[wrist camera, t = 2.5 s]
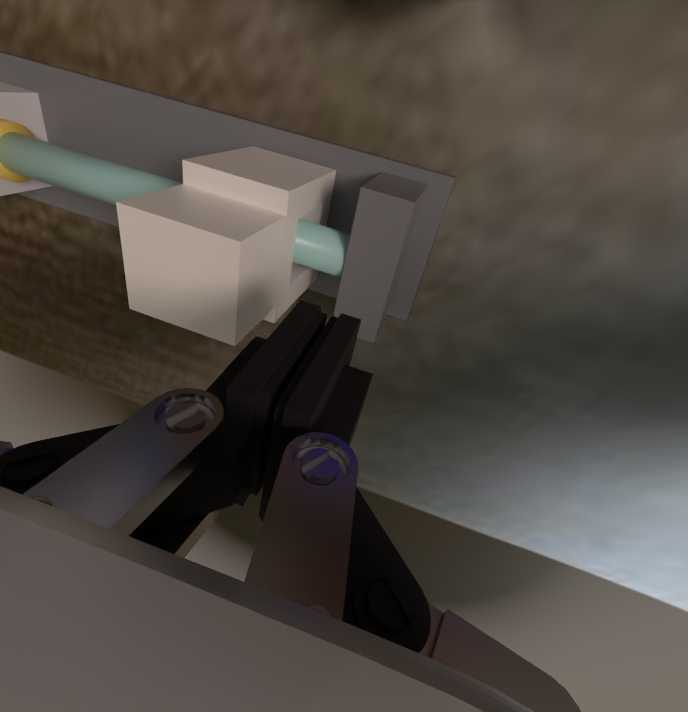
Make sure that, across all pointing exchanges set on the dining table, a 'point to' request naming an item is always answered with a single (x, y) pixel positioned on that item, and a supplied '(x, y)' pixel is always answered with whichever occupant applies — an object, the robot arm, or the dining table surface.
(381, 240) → the threaded rod slide
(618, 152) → the dining table surface
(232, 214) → the sleeve
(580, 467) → the dining table surface
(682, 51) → the dining table surface
